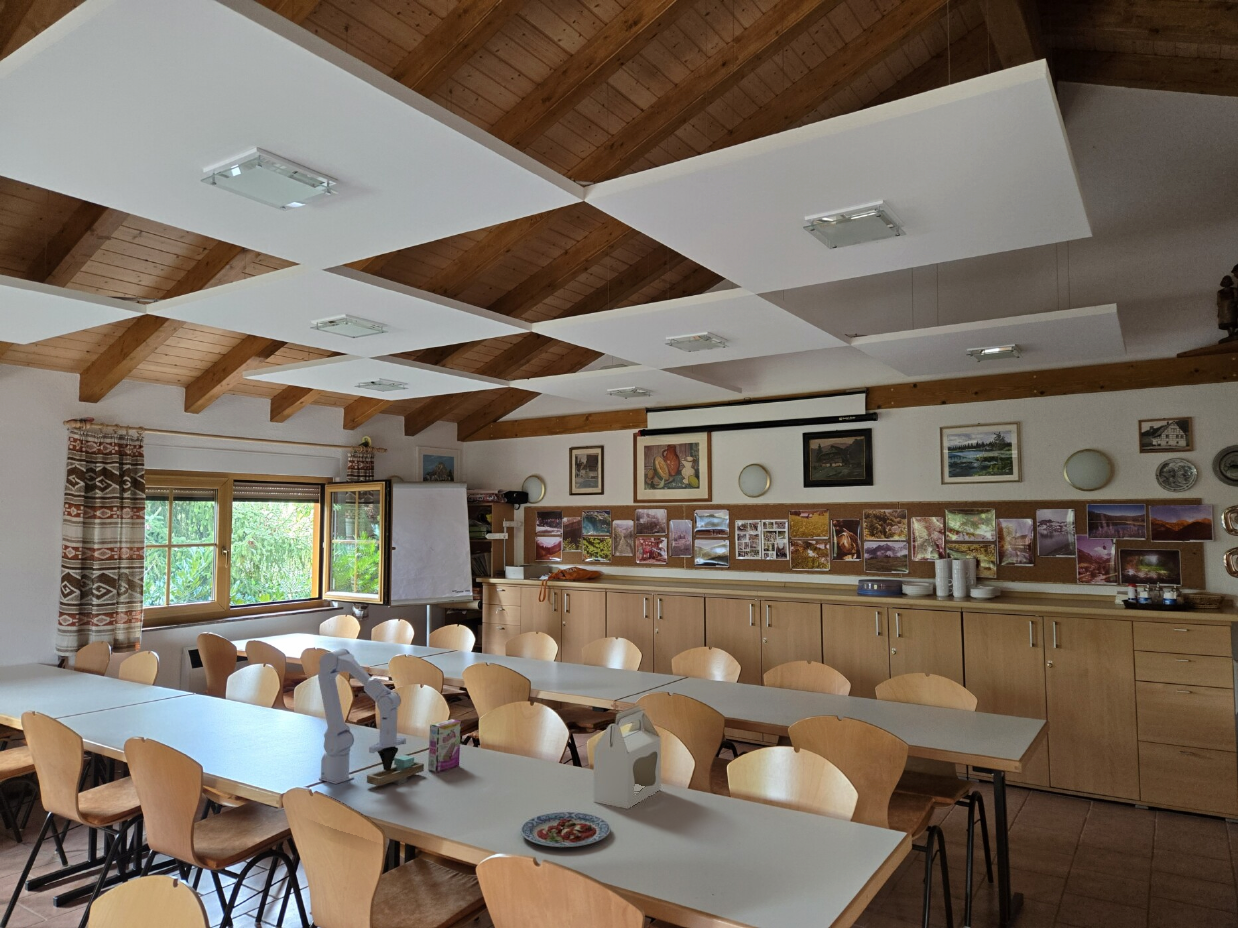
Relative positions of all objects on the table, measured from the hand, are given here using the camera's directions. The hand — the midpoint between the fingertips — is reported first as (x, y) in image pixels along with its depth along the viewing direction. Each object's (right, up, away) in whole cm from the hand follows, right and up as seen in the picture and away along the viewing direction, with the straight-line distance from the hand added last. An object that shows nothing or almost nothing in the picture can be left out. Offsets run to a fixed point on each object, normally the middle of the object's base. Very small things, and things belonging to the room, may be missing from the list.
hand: (387, 769), depth 275 cm
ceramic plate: (+64, -3, -43) cm, 77 cm away
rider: (+4, -3, +6) cm, 8 cm away
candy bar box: (+16, -7, +18) cm, 25 cm away
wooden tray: (+2, -5, +3) cm, 6 cm away
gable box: (+82, -5, -10) cm, 83 cm away
